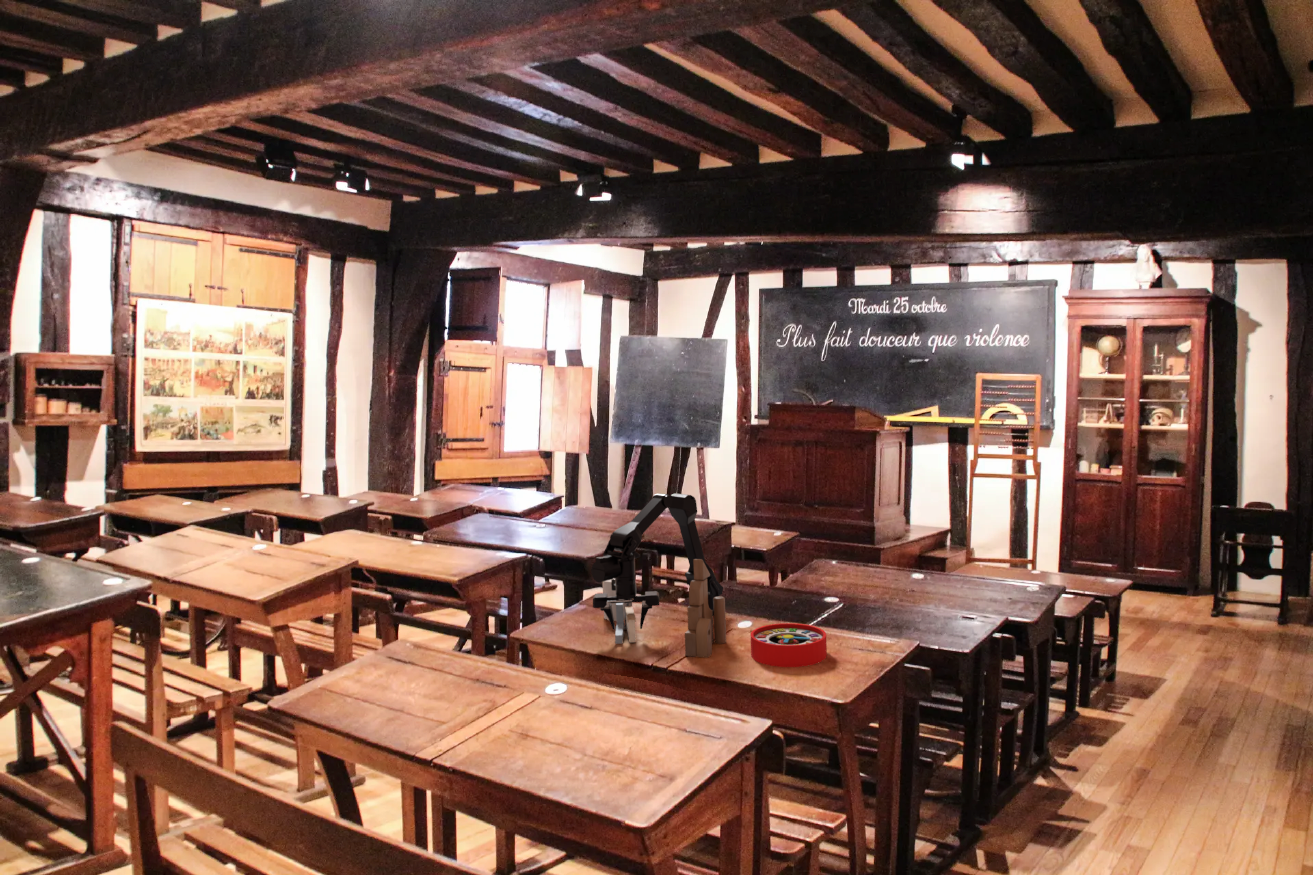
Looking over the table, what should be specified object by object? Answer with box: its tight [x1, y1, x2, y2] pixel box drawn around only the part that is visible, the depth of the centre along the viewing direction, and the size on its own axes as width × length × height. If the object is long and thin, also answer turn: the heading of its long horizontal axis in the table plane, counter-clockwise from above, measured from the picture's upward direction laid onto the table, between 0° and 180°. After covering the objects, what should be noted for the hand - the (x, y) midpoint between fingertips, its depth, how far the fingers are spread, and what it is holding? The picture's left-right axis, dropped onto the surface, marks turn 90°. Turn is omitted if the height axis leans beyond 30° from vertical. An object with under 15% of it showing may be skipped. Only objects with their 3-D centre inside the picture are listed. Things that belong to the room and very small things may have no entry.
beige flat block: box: [625, 605, 637, 643], centre depth 281 cm, size 13×2×7 cm, turn 6°
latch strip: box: [614, 603, 625, 645], centre depth 281 cm, size 2×14×8 cm, turn 0°
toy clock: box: [750, 622, 828, 668], centre depth 260 cm, size 20×6×20 cm
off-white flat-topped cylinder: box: [601, 580, 625, 622], centre depth 301 cm, size 8×8×12 cm
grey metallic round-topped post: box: [623, 599, 633, 631], centre depth 290 cm, size 4×4×10 cm
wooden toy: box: [684, 559, 727, 658], centre depth 267 cm, size 15×7×25 cm, turn 157°
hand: (627, 629), depth 278 cm, fingers open, 7 cm apart
